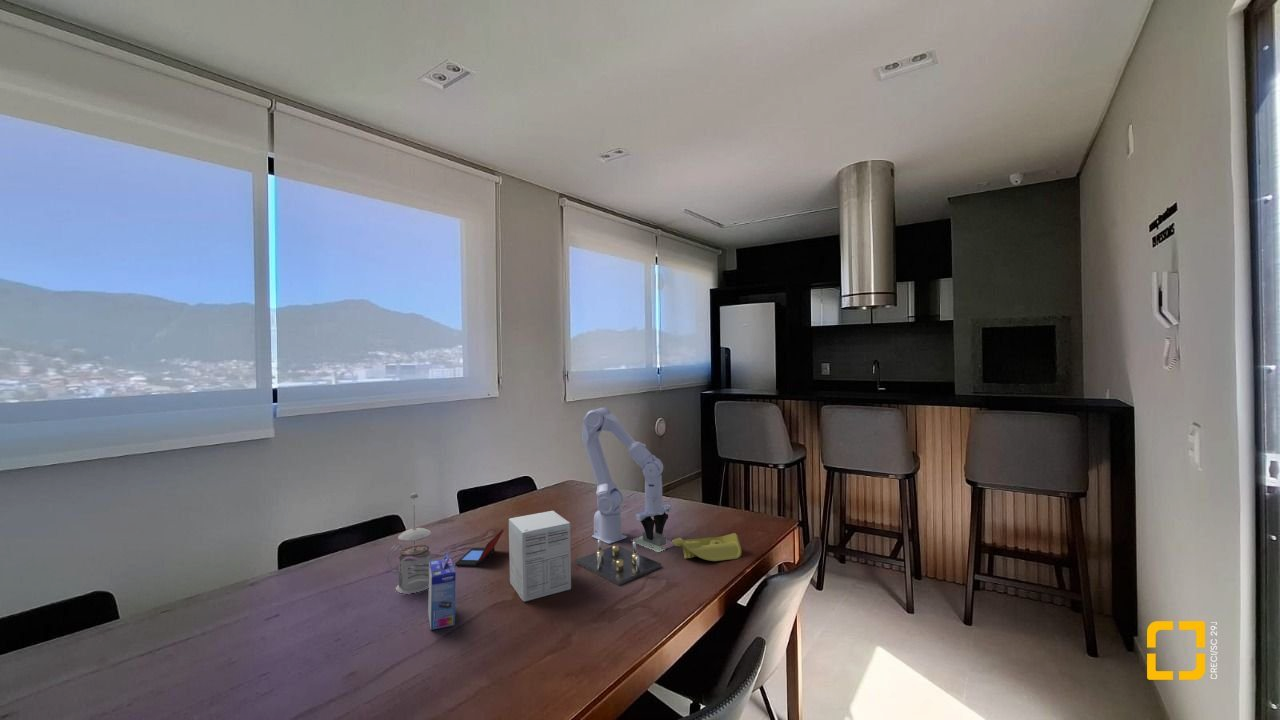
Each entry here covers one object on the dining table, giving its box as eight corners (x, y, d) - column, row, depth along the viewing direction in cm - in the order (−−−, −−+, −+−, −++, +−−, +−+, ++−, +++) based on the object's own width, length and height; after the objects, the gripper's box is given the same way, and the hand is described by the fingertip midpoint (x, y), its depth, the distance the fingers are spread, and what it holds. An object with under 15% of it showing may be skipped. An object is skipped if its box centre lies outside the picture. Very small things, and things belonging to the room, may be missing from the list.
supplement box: (572, 589, 124) (571, 522, 124) (523, 603, 117) (522, 532, 117) (554, 570, 135) (553, 509, 135) (508, 582, 128) (507, 518, 128)
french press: (441, 584, 127) (440, 492, 128) (395, 601, 119) (394, 502, 119) (426, 574, 134) (424, 486, 134) (382, 588, 126) (380, 495, 126)
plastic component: (722, 536, 153) (738, 532, 145) (726, 561, 150) (743, 557, 142) (667, 541, 146) (681, 537, 138) (670, 567, 142) (685, 564, 134)
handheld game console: (472, 550, 151) (472, 527, 151) (505, 551, 150) (504, 528, 150) (453, 567, 139) (453, 542, 139) (488, 568, 138) (488, 543, 138)
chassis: (575, 563, 140) (575, 546, 140) (616, 548, 151) (616, 532, 151) (619, 585, 125) (618, 566, 125) (661, 567, 136) (661, 549, 136)
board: (629, 542, 157) (628, 532, 157) (650, 535, 164) (650, 525, 164) (658, 554, 147) (658, 544, 147) (680, 546, 153) (680, 535, 153)
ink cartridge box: (457, 625, 107) (456, 561, 107) (430, 632, 105) (429, 566, 105) (452, 606, 116) (451, 547, 116) (428, 611, 114) (427, 551, 114)
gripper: (646, 503, 147) (646, 547, 147) (677, 494, 157) (678, 534, 157) (631, 499, 153) (631, 541, 153) (662, 490, 162) (663, 529, 162)
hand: (654, 537), depth 155 cm, fingers open, 4 cm apart
